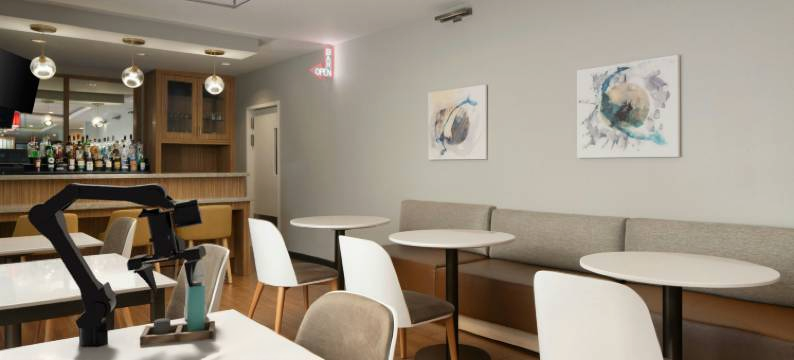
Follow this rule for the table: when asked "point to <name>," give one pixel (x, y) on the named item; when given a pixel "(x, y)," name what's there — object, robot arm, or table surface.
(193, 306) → the teal rounded cylinder
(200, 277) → the plastic bottle
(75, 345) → the table surface
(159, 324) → the dark gray rounded cylinder
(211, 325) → the tray
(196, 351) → the table surface
